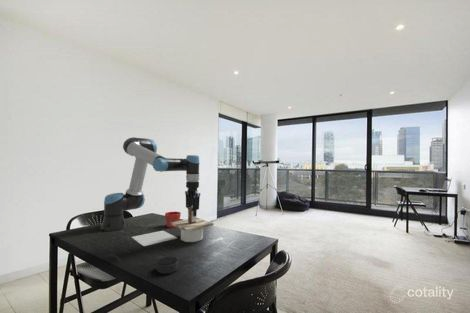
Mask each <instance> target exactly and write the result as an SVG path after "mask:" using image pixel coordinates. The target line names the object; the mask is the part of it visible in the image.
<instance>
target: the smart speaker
mask: <svg viewBox="0 0 470 313" xmlns="http://www.w3.org/2000/svg"><path fill="white" fill-rule="evenodd" d="M178 269H179V260H178V258H177V257H174V256H165V257H162V258H160V259H158V260H157V262H156V272H157V273H159V274H162V275H168V274H173V273H174V272H175V273H176V271H178Z"/></svg>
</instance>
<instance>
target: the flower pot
mask: <svg viewBox="0 0 470 313" xmlns="http://www.w3.org/2000/svg"><path fill="white" fill-rule="evenodd" d="M181 214H182V213H181V212H180V211H167V212H165V213H164V217H165V224H166V227H167V228H176V227H175V226H173V225H171V222H176V221H181Z"/></svg>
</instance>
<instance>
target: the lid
mask: <svg viewBox="0 0 470 313" xmlns="http://www.w3.org/2000/svg"><path fill="white" fill-rule="evenodd" d="M192 210H193V208H192V207H189V208H187V219H183V220H182V219H180V221H176V222H171V225H173V226H175V227H174V228H178V229H180V230H181V229H182V230H185V231H190V230H195V229H199V228H203V229H204V228H206V227H207V228H208V227H212V226H214V222H212V221H207V220H204V219H203V218H202V219H201V218H198V217H196V221H195V222H192Z"/></svg>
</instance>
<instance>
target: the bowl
mask: <svg viewBox="0 0 470 313" xmlns="http://www.w3.org/2000/svg"><path fill="white" fill-rule="evenodd" d="M203 238H204V228H199V229H195V230H190V231H185V230H182V229H180V241H183V242H185V243H195V242H200V241H201V240H202V239H203Z"/></svg>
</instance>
